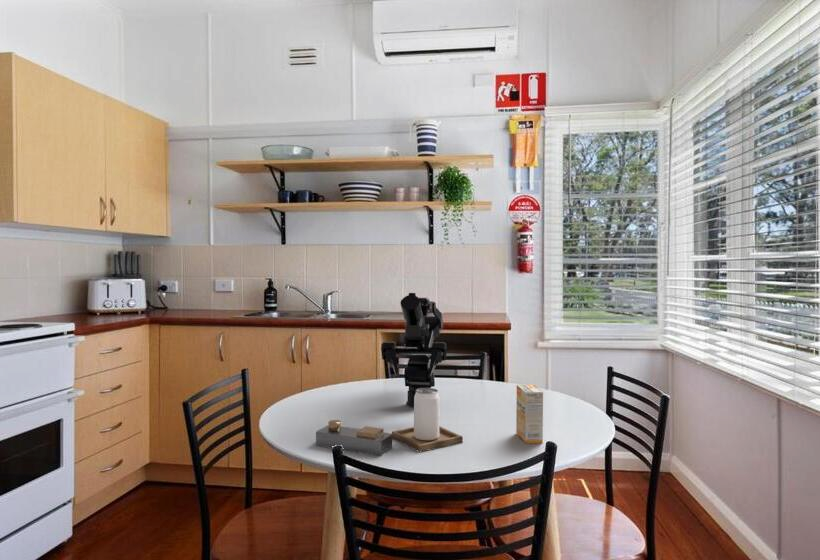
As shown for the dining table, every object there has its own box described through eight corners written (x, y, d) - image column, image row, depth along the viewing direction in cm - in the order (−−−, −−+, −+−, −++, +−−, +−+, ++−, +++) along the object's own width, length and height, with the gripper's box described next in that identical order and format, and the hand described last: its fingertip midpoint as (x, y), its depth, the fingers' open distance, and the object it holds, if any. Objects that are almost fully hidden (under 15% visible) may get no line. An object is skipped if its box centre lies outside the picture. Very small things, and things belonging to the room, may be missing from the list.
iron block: (315, 445, 131) (315, 423, 131) (329, 438, 137) (328, 416, 137) (381, 456, 124) (381, 432, 124) (392, 447, 130) (392, 425, 130)
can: (442, 440, 134) (442, 392, 133) (417, 442, 132) (417, 394, 132) (434, 432, 140) (435, 386, 140) (411, 434, 138) (411, 388, 138)
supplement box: (515, 433, 141) (515, 384, 141) (533, 433, 142) (533, 384, 141) (524, 443, 133) (524, 391, 132) (543, 443, 133) (543, 391, 133)
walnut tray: (432, 428, 145) (432, 423, 145) (462, 442, 134) (462, 436, 134) (391, 437, 138) (391, 431, 138) (419, 452, 127) (419, 445, 127)
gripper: (381, 314, 154) (377, 358, 143) (446, 314, 153) (447, 359, 142) (384, 337, 162) (380, 381, 151) (445, 338, 161) (446, 382, 150)
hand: (413, 375), depth 148 cm, fingers open, 9 cm apart
